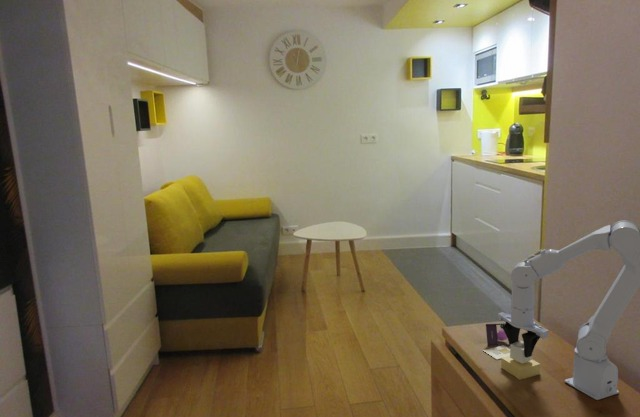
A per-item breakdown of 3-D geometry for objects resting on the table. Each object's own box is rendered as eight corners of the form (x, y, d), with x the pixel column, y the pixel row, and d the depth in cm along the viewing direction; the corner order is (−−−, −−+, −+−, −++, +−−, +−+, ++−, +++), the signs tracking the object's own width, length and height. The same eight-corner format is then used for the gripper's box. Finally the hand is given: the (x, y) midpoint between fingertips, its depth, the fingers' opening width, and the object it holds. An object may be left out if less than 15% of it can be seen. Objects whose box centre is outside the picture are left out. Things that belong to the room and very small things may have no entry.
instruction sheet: (518, 354, 135) (518, 353, 135) (496, 359, 132) (496, 358, 132) (503, 345, 140) (503, 344, 140) (482, 351, 138) (482, 350, 138)
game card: (486, 324, 141) (515, 323, 141) (481, 322, 146) (509, 322, 146) (488, 346, 140) (518, 345, 140) (483, 344, 145) (511, 343, 145)
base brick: (539, 374, 124) (540, 364, 123) (520, 379, 121) (520, 369, 121) (520, 362, 130) (520, 352, 130) (501, 367, 128) (501, 357, 127)
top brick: (532, 359, 124) (532, 343, 124) (522, 363, 123) (522, 347, 122) (519, 353, 128) (520, 338, 127) (510, 357, 126) (510, 341, 125)
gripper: (556, 311, 118) (554, 359, 120) (510, 295, 131) (508, 339, 133) (539, 317, 115) (537, 367, 117) (493, 300, 128) (492, 345, 130)
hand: (520, 352), depth 125 cm, fingers closed on top brick, 4 cm apart
